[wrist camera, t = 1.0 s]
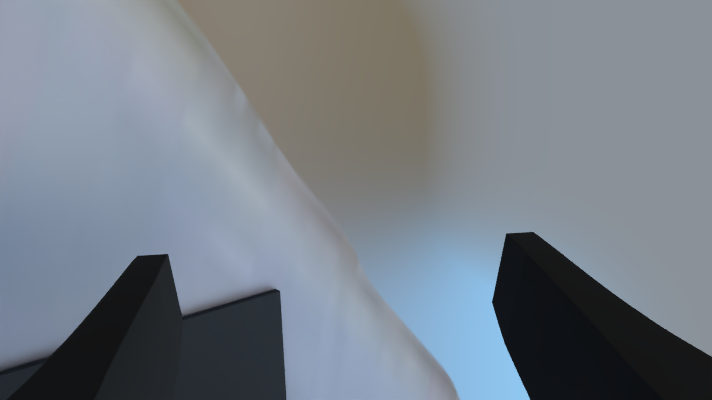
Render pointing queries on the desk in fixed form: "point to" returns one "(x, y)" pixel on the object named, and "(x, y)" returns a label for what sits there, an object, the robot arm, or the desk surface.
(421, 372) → the desk surface
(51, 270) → the desk surface
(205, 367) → the back mat
